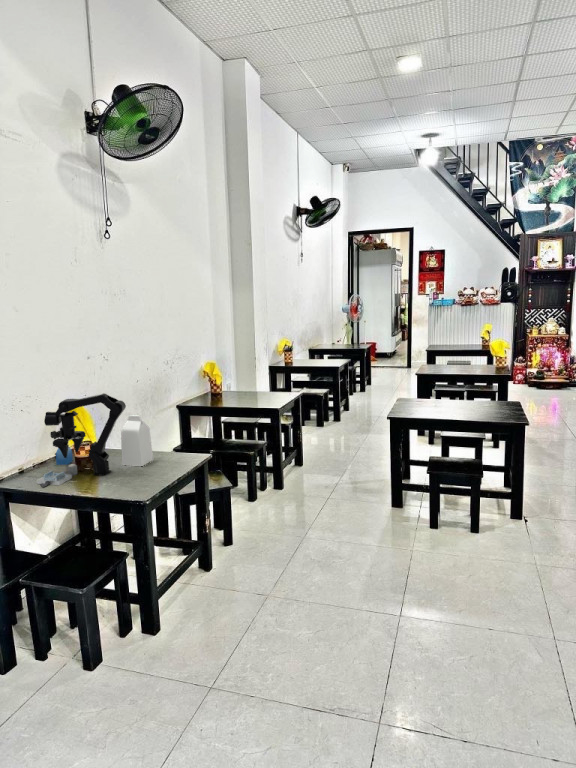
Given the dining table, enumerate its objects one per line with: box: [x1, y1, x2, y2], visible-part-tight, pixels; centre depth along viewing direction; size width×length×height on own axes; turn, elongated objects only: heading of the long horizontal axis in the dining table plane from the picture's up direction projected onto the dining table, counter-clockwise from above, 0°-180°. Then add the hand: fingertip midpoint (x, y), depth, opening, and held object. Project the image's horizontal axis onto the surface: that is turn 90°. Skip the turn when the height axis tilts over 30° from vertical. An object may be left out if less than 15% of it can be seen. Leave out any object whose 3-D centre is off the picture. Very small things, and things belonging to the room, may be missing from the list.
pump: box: [66, 463, 78, 477], centre depth 267 cm, size 4×4×5 cm
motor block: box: [36, 470, 73, 489], centre depth 256 cm, size 12×14×4 cm
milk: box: [120, 414, 154, 467], centre depth 281 cm, size 12×12×26 cm
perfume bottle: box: [55, 447, 73, 466], centre depth 285 cm, size 6×6×12 cm
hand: (71, 455), depth 266 cm, fingers open, 9 cm apart
